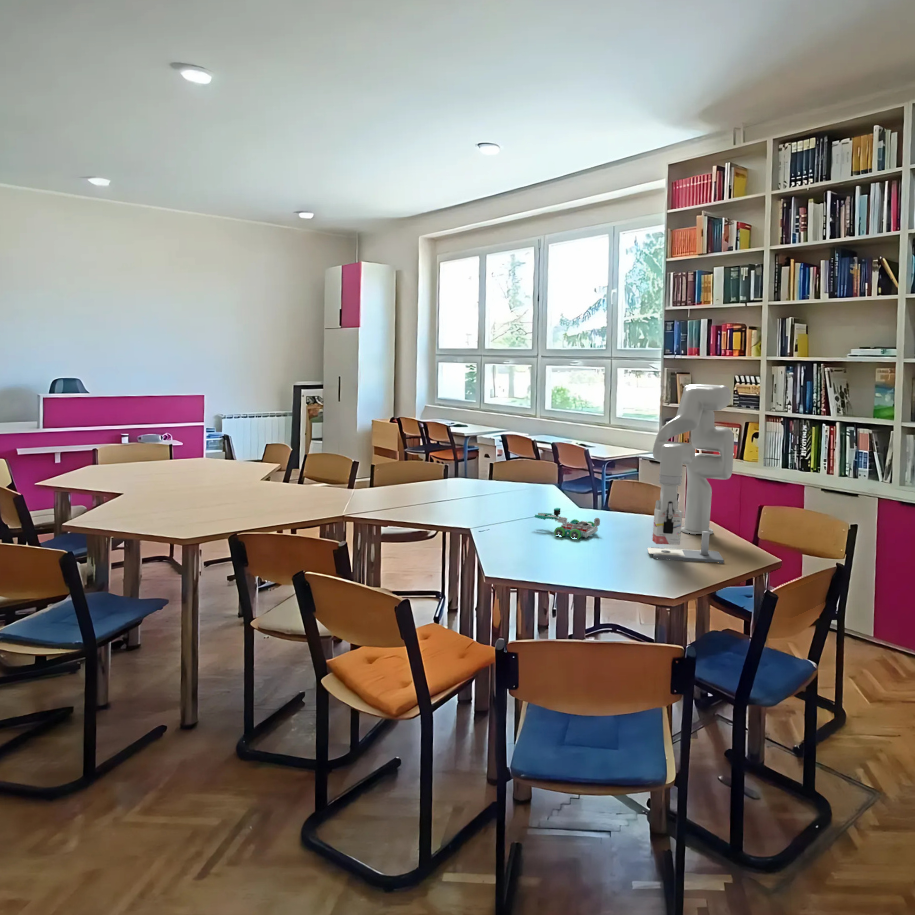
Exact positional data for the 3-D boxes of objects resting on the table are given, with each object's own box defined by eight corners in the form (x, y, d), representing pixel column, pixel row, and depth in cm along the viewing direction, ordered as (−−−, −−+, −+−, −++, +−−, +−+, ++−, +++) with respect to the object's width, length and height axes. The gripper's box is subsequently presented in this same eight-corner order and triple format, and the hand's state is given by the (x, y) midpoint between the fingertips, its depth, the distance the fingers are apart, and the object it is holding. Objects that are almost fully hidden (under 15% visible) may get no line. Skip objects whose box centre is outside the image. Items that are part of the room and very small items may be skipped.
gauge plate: (646, 549, 270) (648, 524, 268) (717, 554, 265) (719, 529, 264) (649, 558, 258) (650, 532, 257) (723, 563, 254) (725, 536, 253)
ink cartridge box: (656, 544, 259) (658, 502, 258) (652, 541, 264) (654, 499, 263) (680, 544, 260) (683, 503, 258) (676, 541, 265) (678, 500, 263)
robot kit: (543, 525, 308) (544, 502, 306) (602, 533, 296) (603, 510, 294) (525, 533, 292) (526, 510, 290) (586, 542, 279) (587, 518, 278)
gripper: (656, 475, 268) (653, 525, 271) (661, 483, 252) (658, 536, 254) (678, 477, 267) (675, 526, 269) (684, 484, 250) (681, 537, 253)
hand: (667, 530), depth 262 cm, fingers closed on ink cartridge box, 5 cm apart
